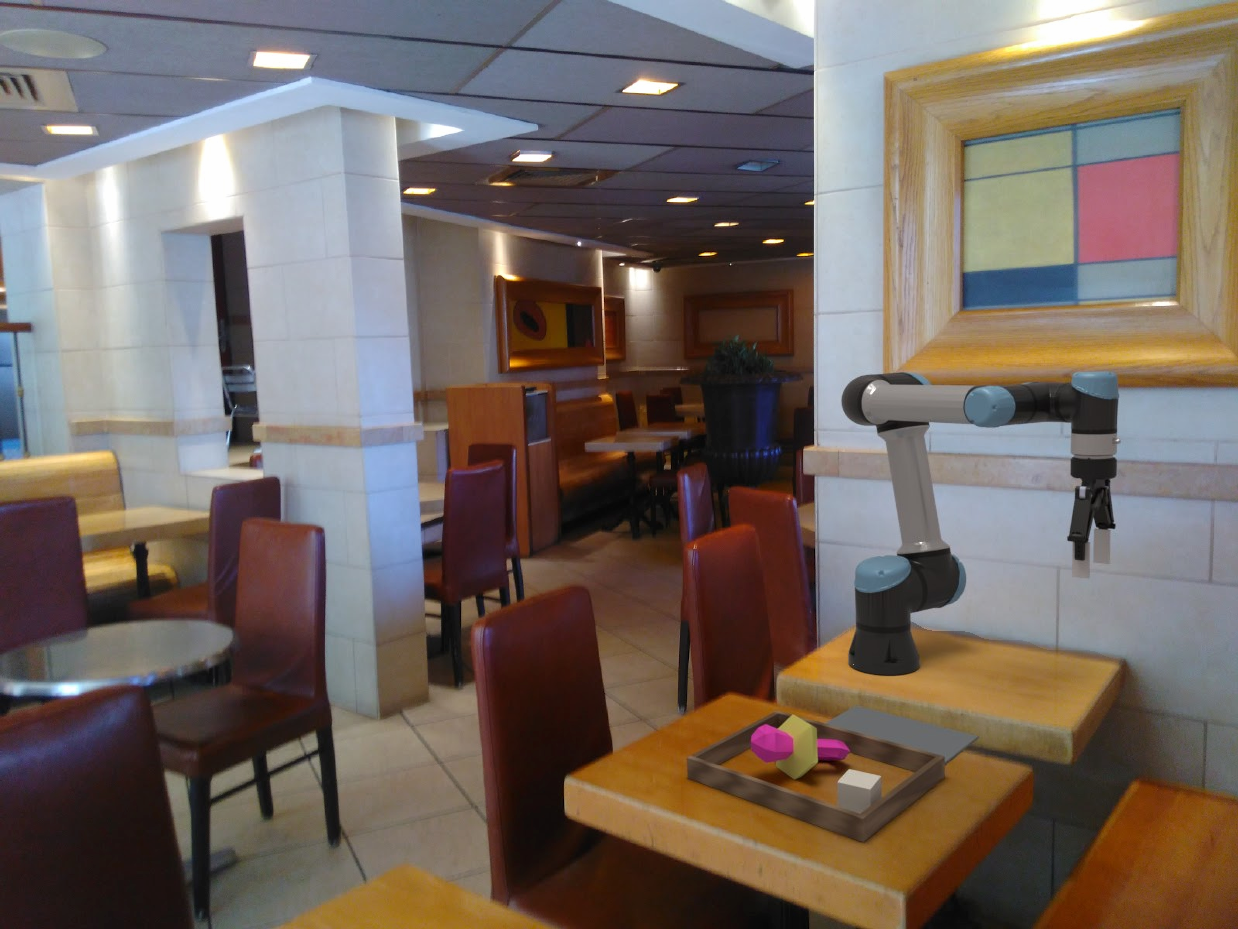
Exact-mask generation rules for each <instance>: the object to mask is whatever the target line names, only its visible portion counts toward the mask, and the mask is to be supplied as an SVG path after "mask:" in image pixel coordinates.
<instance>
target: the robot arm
mask: <svg viewBox="0 0 1238 929" xmlns="http://www.w3.org/2000/svg"><path fill="white" fill-rule="evenodd" d="M1119 398H1120V393H1119V377H1118V375H1117V374H1116V373H1115V372H1113V371H1108V370H1107V371H1104V370H1103V371H1099V370H1098V371H1077V372H1075V373H1073V374H1072V377H1071V382H1047V381H1046V382H1043V381H1031V382H1023V383H1019V384H1008V385H1007V384H1006V385H1005V384H1003V385H971V384H969V385H968V384H967V385H966V384H965V385H960V384H959V385H956V384H955V385H954V384H952V385H951V384H949V385H947V384H942V385H941V384H937V385H936V384H934V385H933V384H932V383H931V382H930V380H928V379H927V378H926V377H924V376H923V375H922V374H919V373H916V372H907V371H906V372H905V371H901V372H890V373H888V372H887V373H876V374H873V373H871V374H870V373H869V374H863V375H860V376H858V377H855V378H854V379H851V381H849V383H847V385H846V386H845V388H844V389H843V392H842V394H841V401H840V403H841V408H842V411H843V413H844V414H845V416H846V417H847V419H849V420H850V421H851V422H853V423H854V424H857V425H860V426H863V427H870V426H871V427H873V426H875V427H876V432H877V436H878V437H880V438H881V439H882V440H884V442H885V446H886V451H887V458H888V464H889V465H888V466H889V472H890V476H891V482H892V483H891V484H892V490H893V496H894V502H895V509H896V515H897V520H898V527H899V533H900V538H901V545H900V547H899V548H898V550H897V551H896V555H893V554H892V555H890V554H889V555H883V556H880V555H878V556H872V557H869V558H867V559H864V560H862V561H861V562H859V563H858V565H856V567H855V573H854V574H855V577H854V581H853V585H854V597H855V599H854V600H855V601H854V602H855V603H854V604H855V631H854V634H853V638H852V640H851V644H850V647H849V649H848V653H847V654H848V655H847V656H848V657H847V659H848V662H847V663H848V665H849V666H850V667H851V668H853V669H854V670H857V671H859V672H863V673H867V674H870V675H871V674H872V675H881V676H897V675H906V674H910V673H913V672H915V671H916V670H918V669H919V668H920V654H919V651H918V648H917V646H916V642H915V640H914V637H913V634H912V629H911V627H912V626H911V625H912V624H911V620H912V619H911V615H912V614H914V613H919V612H922V611H926V610H931V609H941V608H944V607H947V606H949V605H951V604H954V603H956V602H957V601H958V600H959V599H960V598H961V596H962V595H963V593H964V592H965V589H966V585H967V573H966V569H965V566H964V564H963V562H961V561H960V559H959V557H957V556H956V555H955V554H952V551H951V546H950V545H949V544H948V543H947V542H946V541H944V540H943V539H942V535H941V529H940V522H939V516H938V512H937V511H938V509H937V504H936V499H935V493H934V487H933V486H934V485H933V481H932V474H931V469H930V462H929V456H928V450H927V444H926V439H925V438H926V437H925V435H926V433H927V432H928V430H929V428H930V423H939V424H958V425H960V424H961V425H974V426H976V427H978V428H987V429H989V428H992V429H993V428H994V429H995V428H999V427H1004V426H1014V425H1015V426H1016V425H1024V424H1025V425H1027V424H1039V423H1068V424H1069V423H1070V432H1071V433H1070V454H1071V455H1073V457H1071V458H1070V471H1069V472H1070V476H1071V477H1072V478H1074V479H1080V480H1081V483H1080V484H1081V485H1079V486H1078V485H1077V486H1075V487H1074V501H1073V502H1074V503H1073V508H1072V513H1071V515H1072V516H1071V519H1070V520H1071V521H1070V525H1069V526H1070V527H1069V533H1068V535H1067V536H1066V538H1067V539H1066V541H1067V542H1070V543H1071V542H1072V551H1071V552H1072V553H1071V554H1072V555H1071V556H1072V558H1071V561H1072V562H1071V564H1072V565H1071V566H1072V567H1071V577H1072V578H1079V579H1090V577H1091V576H1090V575H1091V574H1090V573H1091V568H1090V567H1091V541H1089V540H1090V534H1091V531H1092V527H1093V521H1094V524H1095V528H1093V550H1092V551H1093V554H1092V555H1093V561H1092V563H1095V564H1105V565H1110V564H1111V530H1115V529H1116V527H1117V526H1116V523H1114V522H1115V518H1114V510H1113V509H1114V508H1113V502H1112V493H1111V479H1115V478H1116V477H1117V472H1118V460H1117V458H1116V457H1115V455H1116V454H1117V453H1118V445H1120V444H1121V439H1120V438H1117V437H1118V410H1119ZM853 664H854V665H853Z"/></svg>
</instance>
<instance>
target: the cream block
mask: <svg viewBox="0 0 1238 929" xmlns="http://www.w3.org/2000/svg"><path fill="white" fill-rule="evenodd" d="M836 788H837V789H836V790H837V806H839V807H841V808H844V809H847V810H850V811H853V812H856V813H859V814H860V813H862V812H863V811H864V810H866V809H867V808H868V807H870V806H871V805H872V804H874V803H875V802H876V801H878V800H879V799H880V798H882V797H883V795H882V791H883V790H882V776H881V775H878V774H873V773H868V772H864V771H860V770H857V769H856V770H855V769H850V768H849V769H847V771H846V772H845V773H844V774H843V775H842V776H841V777H840V778H839V779H838V781H837V783H836Z"/></svg>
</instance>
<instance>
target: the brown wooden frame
mask: <svg viewBox="0 0 1238 929" xmlns="http://www.w3.org/2000/svg"><path fill="white" fill-rule="evenodd" d="M792 715H793V714H791V713H788V712H784V711H781V710H775V711H772V712H771V713H769V714H768V715H766V716H764V717H763V718H760V719H758V720H755V721H754V722H753V723H751V724H749V725H747V726H745V727H742V728H741V729H739V730H737V731H735V732H733V733H731V734H729V735H727V736H725V737H723V738H721V739H720V740H718V741H716V742H714V743H712V744H710V745H708V746H707V747H704V748H702V749H701V750H699V751H697V752H695V753H692V754H691V755H689V756H687V757H686V772H687V773H686V775H687V779H689V780H692V781H695V782H697V783H700V784H703V785H705V786H708V787H711V788H713V789H716V790H719V791H722V792H725V793H728V794H730V795H733V796H735V797H738V798H741V799H743V800H746V801H749V802H751V803H755V804H757V805H760V806H763V807H765V808H767V809H771V810H774V811H776V812H778V813H782V814H784V815H787V816H790V817H793V818H795V819H798V820H800V821H802V822H807V823H809V824H811V825H814V826H817V827H820V828H822V829H825V830H827V831H831V832H833V833H836V834H839V835H842V836H844V837H847V838H850V839H852V840H855V841H858V842H861V843H865V841H867V840H868V839H870V838H871V837H872V836H874V834H876V833H877V832H878V831H879V830H881V829H882V828H884V827H885V826H886V825H887V824H889V822H891V821H892V820H894V819H895V818H896V817H897V816H899V815H900V814H901V813H902V812H904V811H905V810H906V809H907V808H908V807H909V806H911V805H913V803H915V802H916V801H917V800H918V799H919V798H921V797H922V796H924V795H925V794H926V793H927V792H928V791H930V790H931V789H932V788H934V787H935V786H936V785H938V784H939V782H941V781H942V780H943V779H944V778H945V777H946V772H945V771H946V768H945V767H946V764H945V756H941V755H938V754H934V753H930V752H927V751H923V750H919V749H916V748H912V747H909V746H905V745H901V744H898V743H894V742H890V741H887V740H883V739H879V738H876V737H872V736H868V735H865V734H861V733H857V732H854V731H850V730H847V729H843V728H839V727H836V726H832V725H828V724H825V723H826V722H821V721H816V720H814V719H809V718H806V717H801V716H798V715H796V716H797V717H799V718H800V719H802V720H804V721H805V722H807V723H809V724H810V725H812V726H814V727H815V728H817V739H832V740H839V741H842V742H844V743H845V745H846V746H847V747H848V749H849V750H850V752H849V753H850V754H853V755H857V756H861V757H864V758H868V759H871V760H874V761H877V762H881V763H884V764H888V765H891V766H894V767H899V768H901V769H905V770H908V771H911V772H912V771H913V772H914V773H912V774H911V775H909V776H908V777H907V778H906V779H904V780H903V781H901V782H900V783H899V784H898V785H897V786H895V787H894V788H892V789H891V790H889V791H888V792H887V793H885V795H882V798H880V799H879V800H878V801H876V802H875V803H874V804H872V805H871V806H870V807H868V808H867V809H866V810H864V811H863V812H862V813H860V814H859V813H856V812H853V811H850V810H847V809H844V808H841V807H839V806H838V805H835V804H832V803H830V802H826V801H824V800H820V799H819V798H814V797H812V796H809V795H807V794H803V793H801V792H797V791H795V790H791V789H789V788H786V787H782V786H780V785H778V784H774V783H772V782H769V781H765V780H762V779H759V778H756V777H753V776H750V775H748V774H745V773H742V772H739V771H737V770H733V769H730V768H728V767H724V766H722V765H721V764H724V763H725V762H727V761H729V760H731V759H733V758H735V757H736V756H737V755H740V754H741V753H744V752H745V751H748V750H749V749H750V748H751V736H752V735H753V733H754V732H755V731H756V730H757V728H759V727H761V726H763V725H765V724H767V725H769V726H772V727H774V728H776V729H778V728H779V727H780V726H781V725H782V724H783V723H784V722H785V721H786V720H787V719H788V718H789V717H791V716H792Z"/></svg>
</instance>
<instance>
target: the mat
mask: <svg viewBox="0 0 1238 929" xmlns="http://www.w3.org/2000/svg"><path fill="white" fill-rule="evenodd" d="M824 723H825V724H828V725H832V726H836V727H839V728H843V729H847V730H850V731H854V732H857V733H861V734H865V735H868V736H872V737H876V738H879V739H883V740H887V741H890V742H894V743H898V744H901V745H905V746H909V747H912V748H916V749H919V750H923V751H927V752H930V753H934V754H938V755H941V756H945V765H947V763H948V764H949V762H951V761H952V760H953V759H954V758H955V757H957V756H958V755H960V754H961V753H962V752H963V751H964V750H967V748H968V747H970V746H971V745H972V744H973V743H975V742H976V741H978V740H979V738H980V736H979V735H977V734H976V735H975V734H973V733H969V732H968V733H967V732H964V731H960V730H956V729H953V728H947V727H944V726H939V725H937V724H932V723H927V722H925V721H919V720H916V719H912V718H910V717H909V718H907V717H904V716H899V715H897V714H893V713H888V712H885V711H880V710H876V709H872V708H868V707H864V706H861V705H857V704H856V705H855V706H853V707H851V708H849V709H847V710H846V711H843V712H842V713H841V714H838V715H837V716H836V717H833V718H832V719H830V720H829V721H827V722H824Z"/></svg>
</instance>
